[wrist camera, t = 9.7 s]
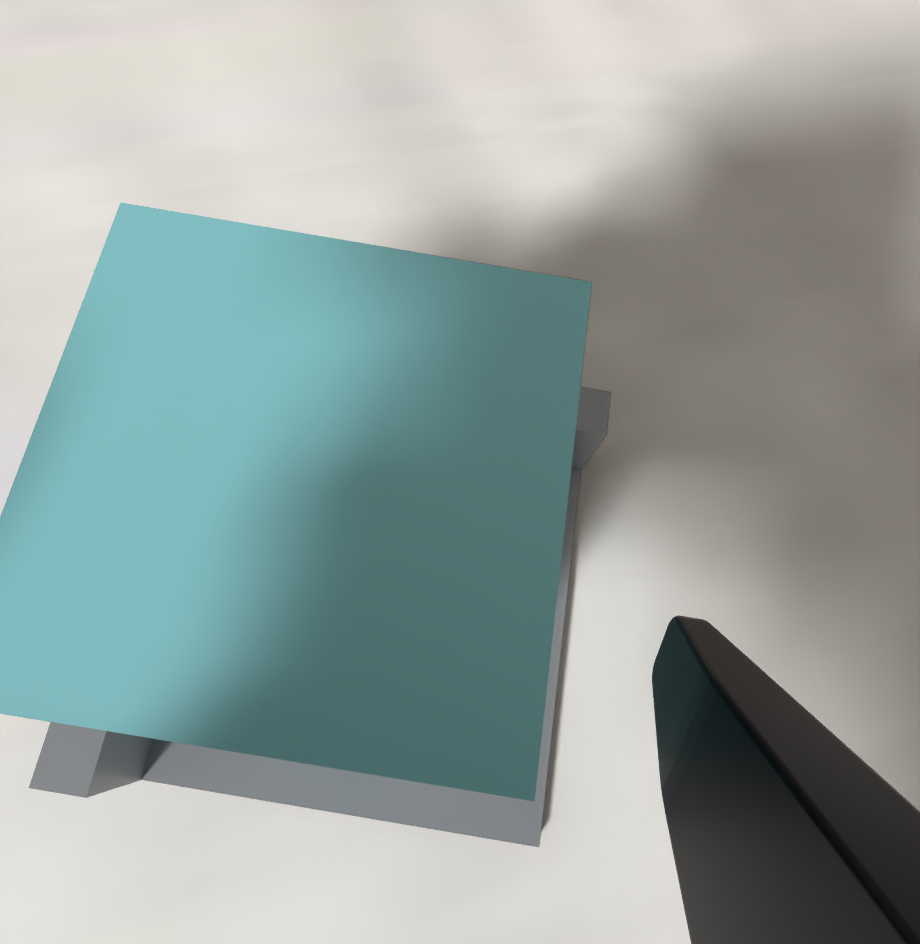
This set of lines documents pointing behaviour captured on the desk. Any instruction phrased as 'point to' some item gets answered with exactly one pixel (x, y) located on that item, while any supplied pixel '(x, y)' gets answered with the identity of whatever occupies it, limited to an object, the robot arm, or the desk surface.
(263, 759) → the tray
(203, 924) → the desk surface
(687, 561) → the desk surface
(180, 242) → the block
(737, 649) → the robot arm
